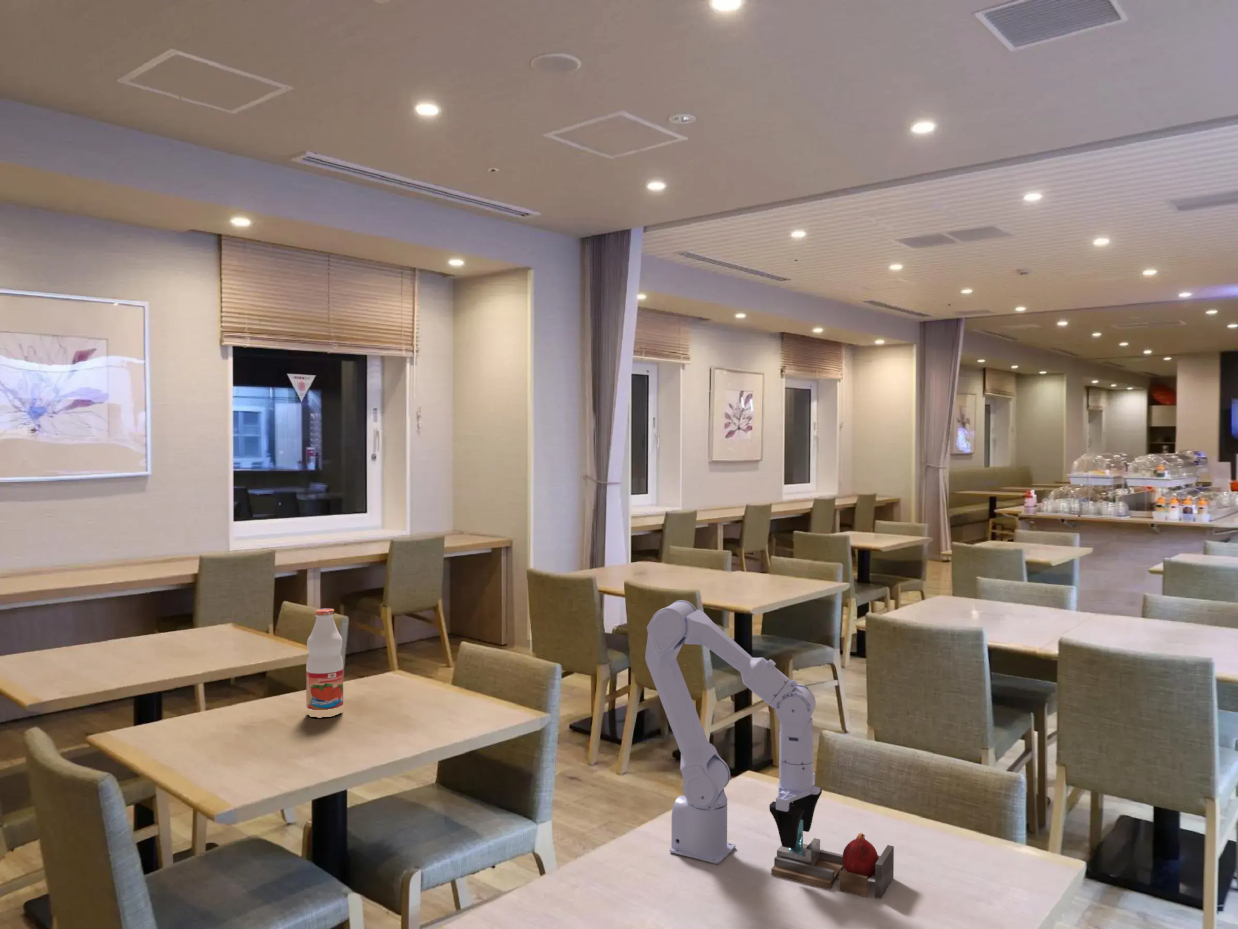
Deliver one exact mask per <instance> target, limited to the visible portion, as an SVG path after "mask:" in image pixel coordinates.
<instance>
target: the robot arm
mask: <svg viewBox="0 0 1238 929" xmlns="http://www.w3.org/2000/svg"><path fill="white" fill-rule="evenodd" d="M646 630H647V639H646V648H645V653H644V654H645V655H644V659H645V663H646V665H647V669H648V670H649V673H650V674H649V675H650V676H651V678H652V681H653V684H654V686H655V689H656V692H657V694H658V697H659V699H660V702H661V705H662V707H663V710H664V712H665V715H666V718H667V720H668V723H669V725H670V726H669V727H670V729H671V730H672V734H673V736H674V739H675V741H676V744H677V747H678V749H679V752H680V768H679V769H680V773H681V775H682V781H683V782H682V783H683V784H682V791H683V794H684V795H679V796H678V797H677V798H676V799H675V801H674V802H673V803H674V804H673V806H672V811H671V840H670V841H671V842H670V843H671V847H670V848H669V852H670V853H671V854H676V855H679V856H684V857H687V858H692V859H695V860H699V861H703V862H707V863H711V864H715V865H716V864H717V865H718V864H720V863H721V862H722V861H723V860H724V859H725V858H726V857H727V856H728V855H729V854H730V853H731V852H732V851H734V849H735V848H736V844H735V843H731V842H728V797H727V795H726V793H725V788H726V787H727V786H728V785H729V783H730V780H731V771H730V768H729V766H728V763H726V761H725V760H724V759H722V758H721V756H720V755H719V753H718V751H717V748H716V747H715V746H714V744H712V743H711V742H709V740H708V738H707V735H706V732H705V730H704V727H703V725H702V722H701V719H700V717H699V715H698V711H697V709H696V706H695V705H694V701H693V698H692V696H691V693H690V690H689V689H688V687H687V686H688V685H687V683H686V681H685V680H686V679H685V678H684V675H683V673H682V670H681V668H680V665H679V662H678V660H677V658H678V655H679V653H680V651H681V648H682V646H683V645H693V646H694V645H695V646H696V645H700V646H705V647H706V648H707V649H709V650H710V651H711V652H713V653H714V654H715V655H716V656H718V657H719V658H720V659H722V660H723V661H724V662H725V663H727V664H728V665H730V666H731V667H733V668H734V669H735V670H737V671H738V672H739V673H740V675H741V676H740V677H741V681H742V684H743V685H744V686H746V687H747V688H748V689H749V690H750V691H752V692H753V694H755V695H756V696H758V697H759V699H761V700H762V701H763V702H765V704H767V705H768V706H770V707H771V708H772V709H775V714H776V717H777V719H778V721H779V724H780V726H779V729H780V730H779V736H778V737H779V738H778V739H779V740H778V741H779V743H778V744H779V749H778V750H779V754H778V756H779V759H778V760H779V761H778V764H779V768H778V769H779V770H778V772H779V774H778V775H779V777H778V779H779V780H778V783H777V796H776V797H775V801H774V800H773V801H771V803H770V804H769V805H768V806H769V812H770V813H771V815H772V817H773V819H774V822H775V824H776V827H777V831H778V835H779V839H780V844H781V845H782V846H783V847H786V848H791V849H794V848H795V846H796V842H797V835H798V827H799V823H800V820H801V818H802V819H803V832H806V833H809V832H810V830H811V828H812V823H813V819H814V814H815V809H816V807H817V804H818V801H819V799H820V797H821V795H822V792H823V791H822V790H823V789H822V788H821V787H819V786H816V785H815V784H816V773H815V772H814V732H813V728H814V722H813V717H812V715H813V714H814V712H815V709H816V704H817V703H816V698H815V696H814V693H813V692H812V691H811V690H810V688H808V686H807V685H805V684H802V683H801V684H800V683H799V682H798V681H797V680H796V679H790V678H789V677H788V676H787V675H786V674H784V673H783V672H781V671H780V670H779V669H778V668H777V667H775V666H776V665H777V663H776V662H775V661H774V660H772V659H769V660H768V659H765V657H752V655H751V654H749V653H748V652H747V651H746V650H744V648H742V647H741V645H739V644H738V643H737V642H736V641H735V640H734V639H733V638H731V637H730V636H729V635H728V634H727V633H726V632H725V631H723V630H722V629H721V628H720V627H719V626H718V625H717V624H716V623H715V622H714V621H712V619H711V618H710V617H709V616H708V615H707V613H705V612H704V611H703V610H700V609H697V607H696V606H694V604H692V603H691V602H690V601H688V600H683V599H682V600H681V599H680V600H679V599H678V600H676V601H674V602H672V603H671V604H670V605H668V606H666V607H664V608H661V609H659V610H658V609H657V611H656V612H655V613H654V614H653V615H652V618H651V619H650V621H649V623H648V624H647V626H646Z"/></svg>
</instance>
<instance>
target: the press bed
mask: <svg viewBox="0 0 1238 929" xmlns="http://www.w3.org/2000/svg"><path fill="white" fill-rule="evenodd" d="M894 847H895V846H893V845H891V844H890V845H889V844H887V846H886V847H885V848H884V850H883V851H882V853H881V854H880V855H878V858H879V859H878V861H877V862H876V864H875V874H874V875H873V876H874V877H875V878H874V898H876V899H880V900H882V899H883V898H884V896H885V894H886V892H887V890H888V889H889V887H890V886H891V884H892V882H893V880H894V876H895V875H894V874H895V873H894V868H895V867H894V863H895V861H894V859H895V857H894V856H895V853H894V851H895V848H894ZM773 860H774V861H773V862H774V863H773V866H772V867H771V868H770V872H771V873H770V874H771V875H772V876H776V877H778V878H784V879H787V880H792V881H795V882H799V883H803V884H807V885H812V886H815V887H820V888H822V889H823V888H824V889H827V890H831V888H832V887H833V886H834V884H835V883H836V881H837V880H839V881H838V882H839V884H838V889H839V890H838V891H840V892H842V893H843V892H844V893H847V894H851V895H857V896H861V897H864V898H867V897H868V895H869V879H868V876H863V875H859V874H855V873H851V872H847V871H846V870H845V867H844V865H843V853H842V854H841V853H837V852H832V851H827V850H824V849H820V859H819V860H818V861H817V862H816V864H815V865H814V866H813V865H809V864H805V863H801V862H797V861H793V860H788V859H784V858H780V857H777V856H775V857H774V858H773Z"/></svg>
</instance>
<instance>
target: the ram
mask: <svg viewBox="0 0 1238 929" xmlns="http://www.w3.org/2000/svg"><path fill="white" fill-rule="evenodd" d="M820 850H821V839H819V838H817V837H814V838H813V839H812V840H811V841H810V843H809V844H807V843H804V831H803V819H802V818H801V820H800V823H799V827H798V835H797V842H796V846H795V848H794V849H791V848H786V847H783V846H782V844H781V845H780V846H779V847H778V848H777V850H776V857H780V858H784V859H788V860H793V861H797V862H801V863H805V864H809V865H813V866H814V865H815V864H816V862H817V861H818V860H819V859H820Z"/></svg>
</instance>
